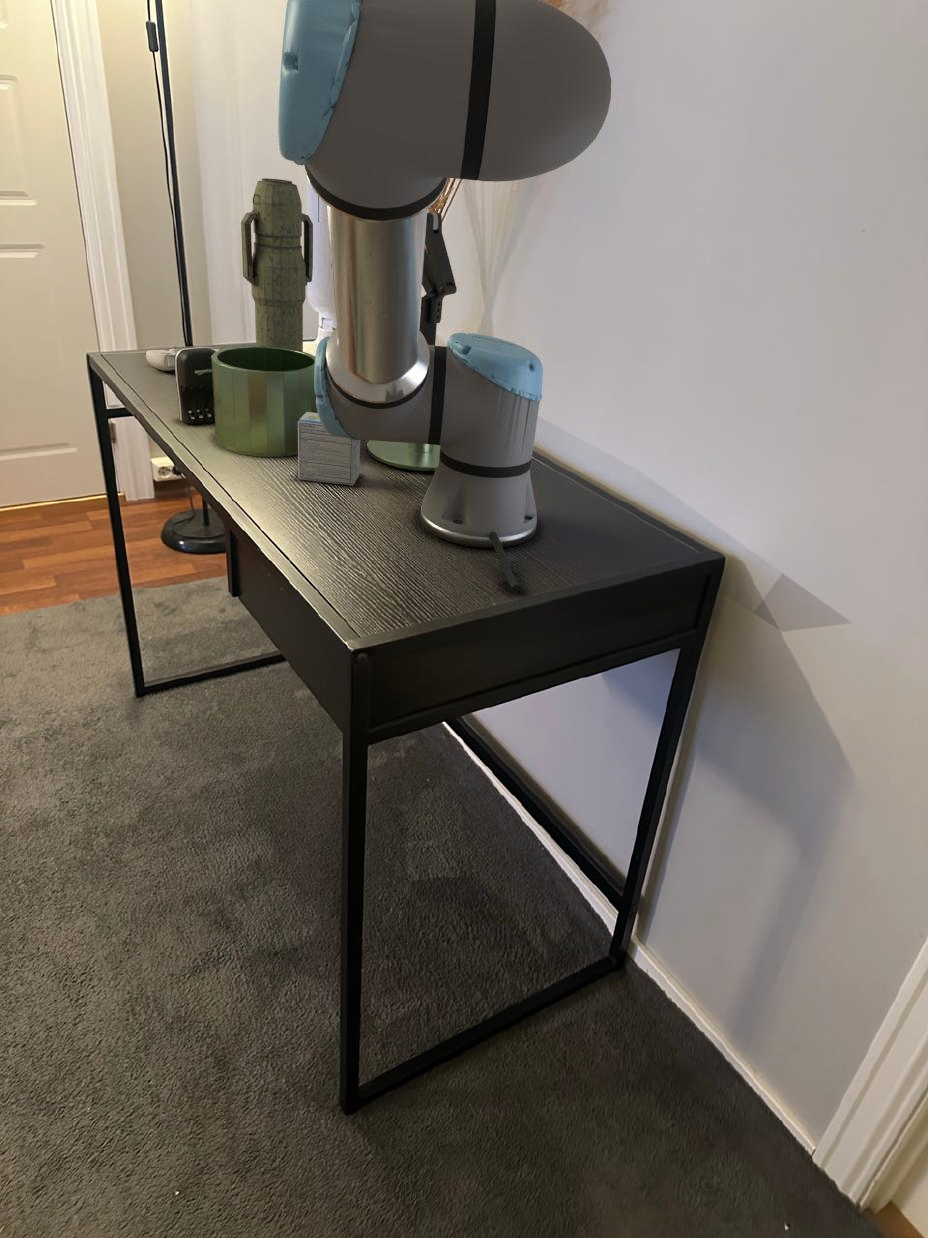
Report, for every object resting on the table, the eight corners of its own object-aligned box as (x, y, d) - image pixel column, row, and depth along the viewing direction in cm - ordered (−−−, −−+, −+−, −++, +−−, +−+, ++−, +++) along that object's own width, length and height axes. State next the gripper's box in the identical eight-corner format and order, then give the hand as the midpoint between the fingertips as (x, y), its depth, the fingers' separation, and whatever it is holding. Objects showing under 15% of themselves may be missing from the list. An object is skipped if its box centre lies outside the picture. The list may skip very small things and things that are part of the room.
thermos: (237, 399, 146) (227, 175, 129) (294, 391, 154) (292, 178, 136) (264, 413, 141) (258, 181, 123) (322, 404, 148) (324, 184, 131)
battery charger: (188, 427, 131) (182, 353, 125) (177, 420, 133) (171, 348, 128) (229, 422, 135) (225, 350, 130) (218, 415, 138) (214, 344, 132)
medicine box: (359, 476, 120) (361, 417, 116) (353, 487, 116) (354, 426, 112) (306, 469, 120) (305, 410, 116) (297, 480, 117) (297, 419, 112)
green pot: (328, 455, 126) (329, 372, 120) (222, 458, 121) (217, 372, 115) (308, 423, 139) (308, 346, 132) (211, 424, 133) (207, 344, 127)
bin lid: (488, 472, 126) (495, 413, 122) (382, 476, 121) (385, 414, 116) (452, 436, 140) (457, 382, 135) (355, 439, 134) (357, 382, 129)
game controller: (217, 344, 166) (230, 345, 158) (220, 367, 167) (232, 369, 159) (142, 345, 159) (151, 346, 151) (145, 369, 161) (154, 371, 152)
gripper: (494, 175, 102) (476, 352, 112) (346, 155, 114) (343, 317, 124) (457, 173, 96) (442, 359, 107) (306, 152, 108) (306, 321, 119)
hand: (388, 337), depth 116 cm, fingers open, 13 cm apart
